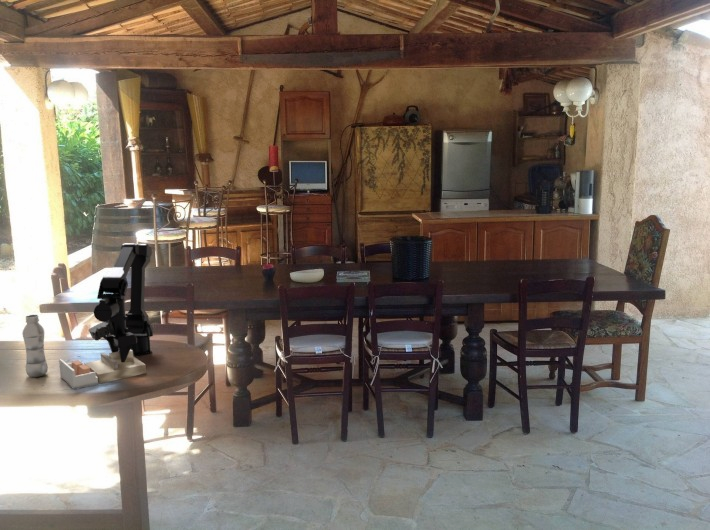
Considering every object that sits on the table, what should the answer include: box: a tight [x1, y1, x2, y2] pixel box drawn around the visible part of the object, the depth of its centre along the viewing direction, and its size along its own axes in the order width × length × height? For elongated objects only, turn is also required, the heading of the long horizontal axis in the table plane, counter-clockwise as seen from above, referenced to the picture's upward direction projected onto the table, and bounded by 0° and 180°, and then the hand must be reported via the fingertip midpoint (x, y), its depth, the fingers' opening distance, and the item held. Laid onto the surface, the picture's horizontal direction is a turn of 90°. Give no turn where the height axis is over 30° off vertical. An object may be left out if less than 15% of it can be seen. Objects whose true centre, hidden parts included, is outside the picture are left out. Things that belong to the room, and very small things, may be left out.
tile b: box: [79, 364, 90, 375], centre depth 202 cm, size 4×4×2 cm
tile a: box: [71, 359, 84, 376], centre depth 206 cm, size 4×4×2 cm
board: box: [83, 356, 147, 385], centre depth 211 cm, size 15×14×3 cm
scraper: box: [99, 349, 134, 370], centre depth 211 cm, size 8×12×4 cm
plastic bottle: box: [21, 314, 49, 378], centre depth 206 cm, size 6×7×20 cm
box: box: [58, 358, 99, 390], centre depth 203 cm, size 7×14×6 cm, turn 40°
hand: (119, 359), depth 211 cm, fingers open, 7 cm apart
